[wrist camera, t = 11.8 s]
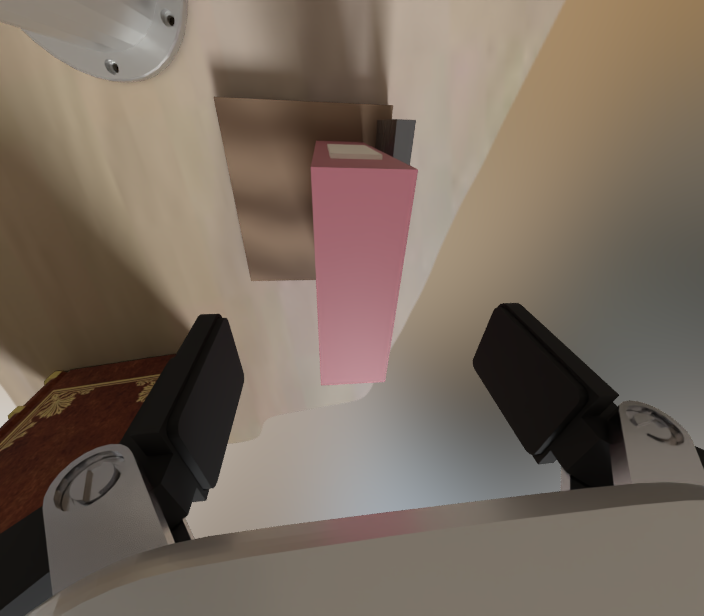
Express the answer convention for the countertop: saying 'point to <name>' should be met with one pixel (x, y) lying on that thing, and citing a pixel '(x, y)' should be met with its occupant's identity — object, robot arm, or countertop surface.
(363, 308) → the slim book
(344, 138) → the shelf board
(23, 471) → the decorative book
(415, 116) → the countertop surface
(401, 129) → the bookend
